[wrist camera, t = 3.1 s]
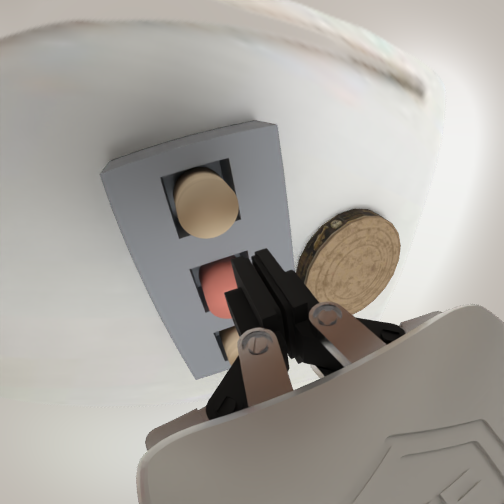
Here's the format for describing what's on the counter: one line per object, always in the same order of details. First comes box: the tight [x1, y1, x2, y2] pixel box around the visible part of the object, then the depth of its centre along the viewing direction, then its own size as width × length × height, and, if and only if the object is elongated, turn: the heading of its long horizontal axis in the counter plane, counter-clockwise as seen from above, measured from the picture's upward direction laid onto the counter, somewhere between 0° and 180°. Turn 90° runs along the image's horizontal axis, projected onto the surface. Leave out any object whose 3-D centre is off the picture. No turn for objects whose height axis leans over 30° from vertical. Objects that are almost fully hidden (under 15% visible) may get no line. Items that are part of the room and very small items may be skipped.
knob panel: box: [100, 121, 295, 380], centre depth 29 cm, size 26×14×5 cm, turn 10°
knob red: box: [198, 255, 237, 319], centre depth 26 cm, size 4×4×4 cm
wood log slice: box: [296, 209, 401, 315], centre depth 37 cm, size 16×16×3 cm
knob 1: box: [173, 167, 239, 239], centre depth 22 cm, size 4×4×4 cm
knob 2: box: [219, 326, 240, 366], centre depth 31 cm, size 4×4×4 cm
